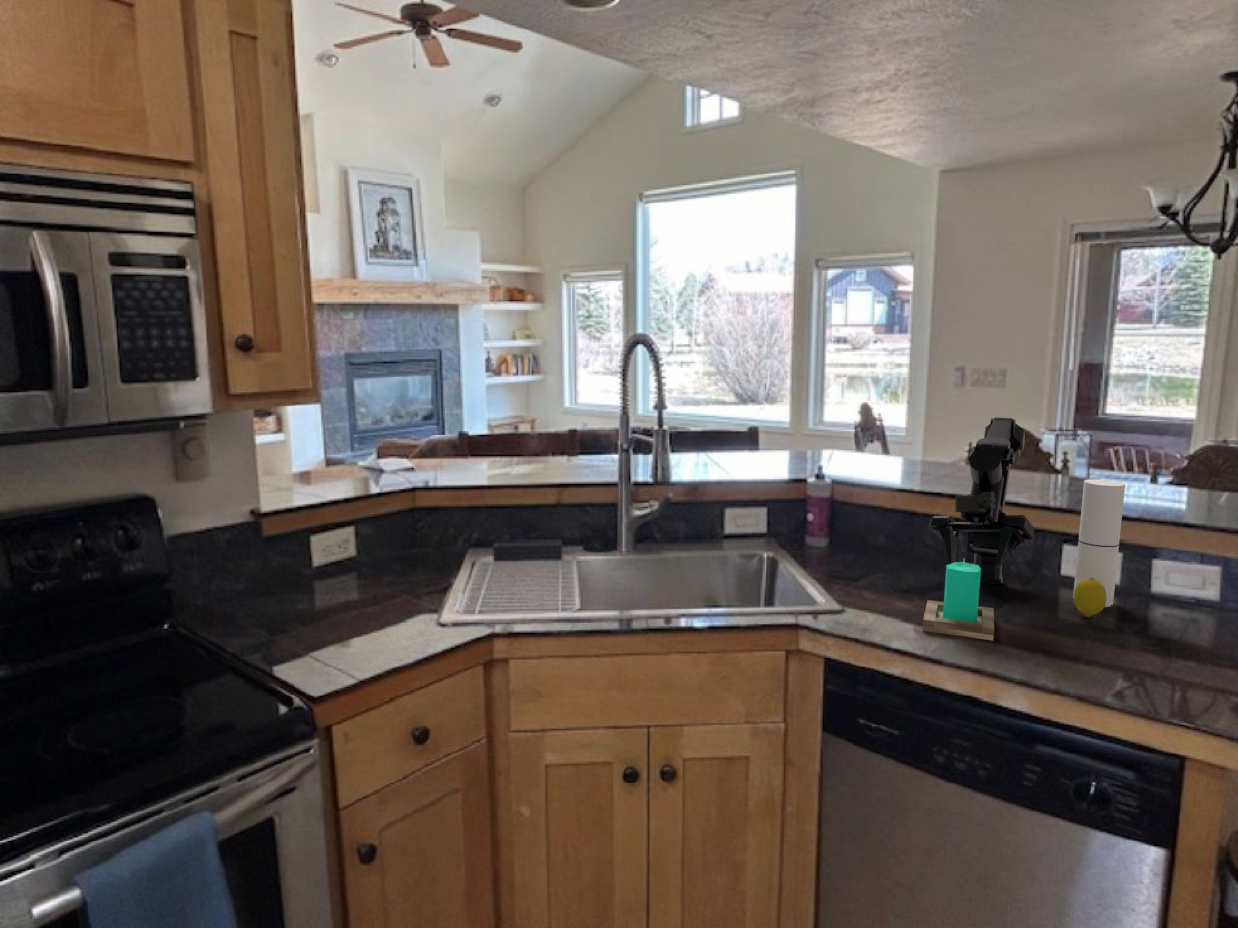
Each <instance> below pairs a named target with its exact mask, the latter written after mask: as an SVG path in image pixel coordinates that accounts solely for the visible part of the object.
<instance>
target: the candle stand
mask: <svg viewBox="0 0 1238 928" xmlns="http://www.w3.org/2000/svg"><path fill="white" fill-rule="evenodd" d="M943 608H944V601H940V600H939V601H938V600H929V599H928V600H927V602H926V605H925V610H924V615H923V621H922V631H923V632H928V633H929V632H930V633H937V634H943V635H944V634H945V635H949V636H950V635H951V636H956V637H957V636H958V637H964V638H972V639H978V640H987V641H992V642H993V641H994V637H995V636H994V635H995V616H994V615H995V612H994V609H995V608H993V607H985V606H979V605H978V615H977V622H976V623H973V622H965V621H958V620H950V619H943Z"/></svg>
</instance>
